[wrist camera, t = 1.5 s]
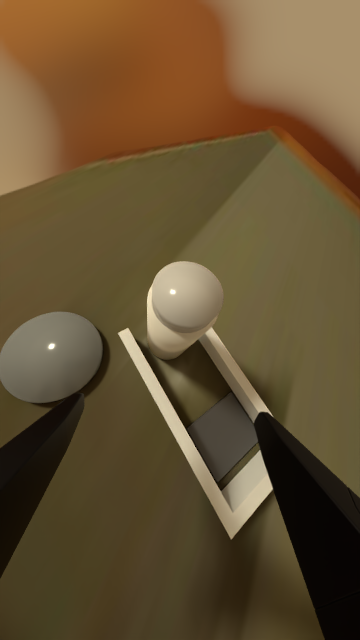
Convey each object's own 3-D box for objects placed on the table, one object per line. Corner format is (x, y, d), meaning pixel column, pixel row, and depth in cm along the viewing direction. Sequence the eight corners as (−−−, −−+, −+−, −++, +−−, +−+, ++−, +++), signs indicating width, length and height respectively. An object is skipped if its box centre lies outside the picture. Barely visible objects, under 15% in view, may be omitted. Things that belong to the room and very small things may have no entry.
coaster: (117, 368, 20) (116, 368, 19) (23, 423, 17) (16, 425, 16) (83, 302, 22) (80, 298, 21) (-7, 339, 19) (-15, 337, 18)
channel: (279, 445, 20) (300, 455, 18) (217, 514, 17) (231, 539, 14) (185, 305, 25) (190, 296, 22) (121, 339, 22) (118, 333, 19)
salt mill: (193, 346, 23) (243, 306, 11) (160, 367, 21) (176, 347, 9) (173, 315, 24) (198, 248, 12) (140, 333, 22) (131, 275, 10)
